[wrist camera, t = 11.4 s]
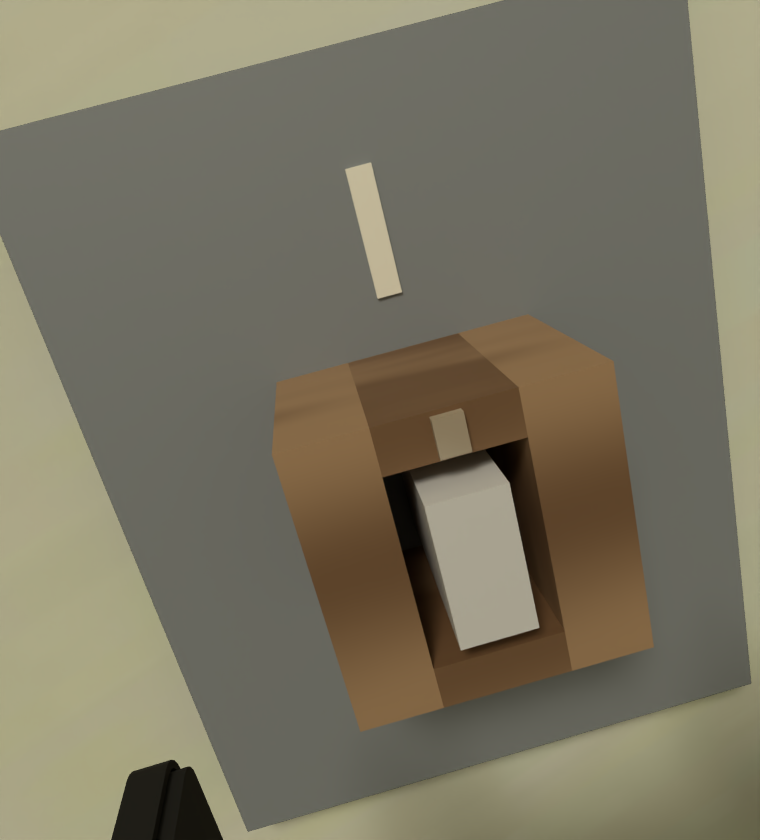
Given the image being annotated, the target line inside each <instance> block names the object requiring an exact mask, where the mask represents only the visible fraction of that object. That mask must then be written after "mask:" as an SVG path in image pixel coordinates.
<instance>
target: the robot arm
mask: <svg viewBox="0 0 760 840" xmlns="http://www.w3.org/2000/svg"><path fill="white" fill-rule="evenodd" d="M111 840H223V838H222V836H221V833H220V831H219V829H218V826H217V824H216V822H215V819H214V817H213V814H212V812H211V810H210V807H209V805H208V803H207V800H206V798H205V795H204V793H203V791H202V788H201V786H200V784H199V781H198V779H197V776H196V774H195V772H194V770H193V769H192V768H191V767H185V768H182V769H180V767H179V765H178V763H177V762H176V761H175V760H169V761H166V762H163V763H159V764H156V765H153V766H149V767H146V768H143V769H140V770H136V771H133V772H132V773H131V774H130V775H129V777H128V779H127V782H126V786H125V790H124V794H123V798H122V801H121V805H120V809H119V813H118V816H117V820H116V824H115V828H114V831H113V835H112V839H111Z"/></svg>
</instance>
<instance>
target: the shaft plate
mask: <svg viewBox="0 0 760 840" xmlns="http://www.w3.org/2000/svg"><path fill="white" fill-rule="evenodd" d="M0 235H1V237H2V240H3V242H4V245H5V247H6V250H7V252H8V254H9V257H10V259H11V262H12V264H13V266H14V269H15V271H16V274H17V276H18V278H19V281H20V283H21V286H22V288H23V291H24V293H25V295H26V298H27V300H28V303H29V305H30V307H31V310H32V312H33V315H34V317H35V319H36V322H37V324H38V327H39V329H40V332H41V334H42V336H43V339H44V341H45V344H46V346H47V348H48V351H49V353H50V356H51V358H52V360H53V363H54V365H55V368H56V370H57V373H58V375H59V377H60V380H61V382H62V385H63V387H64V389H65V392H66V394H67V397H68V399H69V402H70V404H71V406H72V409H73V411H74V414H75V416H76V418H77V421H78V423H79V426H80V428H81V430H82V433H83V435H84V438H85V440H86V443H87V445H88V447H89V450H90V452H91V455H92V457H93V459H94V462H95V464H96V467H97V469H98V471H99V474H100V476H101V479H102V481H103V484H104V486H105V488H106V491H107V493H108V496H109V498H110V500H111V503H112V505H113V508H114V510H115V513H116V515H117V517H118V520H119V522H120V525H121V527H122V529H123V532H124V534H125V537H126V539H127V541H128V544H129V546H130V549H131V551H132V554H133V556H134V558H135V561H136V563H137V566H138V568H139V570H140V573H141V575H142V578H143V580H144V582H145V585H146V587H147V590H148V592H149V595H150V597H151V599H152V602H153V604H154V607H155V609H156V611H157V614H158V616H159V619H160V621H161V624H162V626H163V628H164V631H165V633H166V636H167V638H168V640H169V643H170V645H171V648H172V650H173V652H174V655H175V657H176V660H177V662H178V665H179V667H180V669H181V672H182V674H183V677H184V679H185V681H186V684H187V686H188V689H189V691H190V693H191V696H192V698H193V701H194V703H195V706H196V708H197V710H198V713H199V715H200V718H201V720H202V722H203V725H204V727H205V730H206V732H207V735H208V737H209V739H210V742H211V744H212V747H213V749H214V751H215V754H216V756H217V759H218V761H219V763H220V766H221V768H222V771H223V773H224V776H225V778H226V780H227V783H228V785H229V788H230V790H231V792H232V795H233V797H234V800H235V802H236V804H237V807H238V809H239V812H240V814H241V817H242V819H243V821H244V824H245V826H246V829H247V831H248V832H249V831H252V830H256V829H259V828H262V827H266V826H269V825H273V824H276V823H279V822H283V821H286V820H290V819H293V818H296V817H300V816H303V815H307V814H310V813H313V812H317V811H320V810H324V809H327V808H330V807H334V806H337V805H340V804H344V803H347V802H351V801H354V800H357V799H361V798H364V797H368V796H371V795H374V794H378V793H381V792H385V791H388V790H391V789H395V788H398V787H402V786H405V785H408V784H412V783H415V782H419V781H422V780H425V779H429V778H432V777H436V776H439V775H442V774H446V773H449V772H453V771H456V770H459V769H463V768H466V767H470V766H473V765H476V764H480V763H483V762H486V761H490V760H493V759H497V758H500V757H503V756H507V755H510V754H514V753H517V752H520V751H524V750H527V749H531V748H534V747H537V746H541V745H544V744H548V743H551V742H554V741H558V740H561V739H565V738H568V737H571V736H575V735H578V734H582V733H585V732H588V731H592V730H595V729H599V728H602V727H605V726H609V725H612V724H616V723H619V722H622V721H626V720H629V719H633V718H636V717H639V716H643V715H646V714H649V713H653V712H656V711H660V710H663V709H666V708H670V707H673V706H677V705H680V704H683V703H687V702H690V701H694V700H697V699H700V698H704V697H707V696H711V695H714V694H717V693H721V692H724V691H728V690H731V689H734V688H738V687H741V686H745V685H748V684H751V676H750V665H749V655H748V644H747V633H746V622H745V612H744V601H743V590H742V580H741V569H740V558H739V547H738V537H737V526H736V515H735V505H734V494H733V483H732V472H731V462H730V451H729V440H728V430H727V419H726V408H725V397H724V387H723V376H722V365H721V355H720V344H719V333H718V322H717V312H716V301H715V290H714V280H713V269H712V258H711V247H710V237H709V226H708V215H707V205H706V194H705V183H704V172H703V162H702V151H701V140H700V130H699V119H698V108H697V97H696V87H695V76H694V65H693V55H692V44H691V33H690V22H689V12H688V1H687V0H503V1H499V2H496V3H492V4H488V5H484V6H480V7H476V8H472V9H468V10H465V11H461V12H457V13H453V14H449V15H445V16H441V17H438V18H434V19H430V20H426V21H422V22H418V23H414V24H411V25H407V26H403V27H399V28H395V29H391V30H387V31H383V32H380V33H376V34H372V35H368V36H364V37H360V38H356V39H353V40H349V41H345V42H341V43H337V44H333V45H329V46H325V47H322V48H318V49H314V50H310V51H306V52H302V53H298V54H295V55H291V56H287V57H283V58H279V59H275V60H271V61H268V62H264V63H260V64H256V65H252V66H248V67H244V68H240V69H237V70H233V71H229V72H225V73H221V74H217V75H213V76H210V77H206V78H202V79H198V80H194V81H190V82H186V83H182V84H179V85H175V86H171V87H167V88H163V89H159V90H155V91H152V92H148V93H144V94H140V95H136V96H132V97H128V98H125V99H121V100H117V101H113V102H109V103H105V104H101V105H97V106H94V107H90V108H86V109H82V110H78V111H74V112H70V113H67V114H63V115H59V116H55V117H51V118H47V119H43V120H39V121H36V122H32V123H28V124H24V125H20V126H16V127H12V128H9V129H5V130H1V131H0ZM527 314H529V315H530V316H532V317H534V318H536V319H538V320H540V321H541V322H543V323H545V324H547V325H549V326H550V327H552V328H554V329H556V330H558V331H560V332H561V333H563V334H565V335H567V336H569V337H571V338H572V339H574V340H576V341H578V342H580V343H581V344H583V345H585V346H587V347H589V348H591V349H592V350H594V351H596V352H598V353H600V354H601V355H603V356H605V357H607V358H609V359H611V360H612V361H614V368H615V375H616V382H617V389H618V396H619V403H620V411H621V418H622V425H623V432H624V439H625V446H626V453H627V460H628V467H629V474H630V481H631V488H632V495H633V502H634V510H635V517H636V524H637V531H638V538H639V545H640V552H641V559H642V566H643V573H644V580H645V587H646V594H647V601H648V608H649V616H650V623H651V630H652V637H653V644H654V647H653V648H650V649H646V650H643V651H639V652H636V653H632V654H629V655H625V656H622V657H619V658H615V659H612V660H608V661H605V662H601V663H598V664H594V665H591V666H587V667H584V668H580V669H577V670H573V671H570V672H566V673H563V674H560V675H556V676H553V677H549V678H546V679H542V680H539V681H535V682H532V683H528V684H525V685H521V686H518V687H514V688H511V689H508V690H504V691H501V692H497V693H494V694H490V695H487V696H483V697H480V698H476V699H473V700H469V701H466V702H462V703H459V704H456V705H452V706H449V707H445V708H442V709H438V710H435V711H431V712H428V713H424V714H421V715H417V716H414V717H410V718H407V719H404V720H400V721H397V722H393V723H390V724H386V725H383V726H379V727H376V728H372V729H369V730H365V731H362V732H360V729H359V726H358V723H357V719H356V716H355V713H354V710H353V707H352V704H351V701H350V698H349V694H348V691H347V688H346V685H345V682H344V679H343V676H342V673H341V669H340V666H339V663H338V660H337V657H336V654H335V651H334V648H333V644H332V641H331V638H330V635H329V632H328V629H327V626H326V623H325V619H324V616H323V613H322V610H321V607H320V604H319V601H318V598H317V594H316V591H315V588H314V585H313V582H312V579H311V576H310V572H309V569H308V566H307V563H306V560H305V557H304V554H303V551H302V547H301V544H300V541H299V538H298V535H297V532H296V529H295V526H294V522H293V519H292V516H291V513H290V510H289V507H288V504H287V501H286V497H285V494H284V491H283V488H282V485H281V482H280V479H279V476H278V472H277V469H276V466H275V463H274V460H273V457H272V444H273V429H274V414H275V399H276V384H277V382H279V381H283V380H287V379H290V378H294V377H298V376H301V375H305V374H309V373H312V372H316V371H320V370H324V369H327V368H331V367H335V366H338V365H342V364H346V363H349V362H353V361H357V360H361V359H364V358H368V357H372V356H375V355H379V354H383V353H386V352H390V351H394V350H398V349H401V348H405V347H409V346H412V345H416V344H420V343H423V342H427V341H431V340H435V339H438V338H442V337H446V336H449V335H453V334H457V333H460V332H464V331H468V330H472V329H475V328H479V327H483V326H486V325H490V324H494V323H497V322H501V321H505V320H509V319H512V318H516V317H520V316H523V315H527ZM382 478H383V482H384V486H385V489H386V493H387V497H388V501H389V504H390V508H391V512H392V516H393V519H394V523H395V527H396V531H397V534H398V538H399V542H400V546H401V549H402V551H403V550H407V549H410V548H414V547H418V546H421V545H422V546H423V549H424V551H425V554H426V557H427V559H428V562H429V565H430V568H431V570H432V573H433V576H434V579H435V581H436V584H437V587H438V589H439V592H440V595H441V598H442V600H443V603H444V606H445V609H446V611H447V614H448V617H449V619H450V622H451V625H452V628H453V630H454V633H455V636H456V639H457V641H458V644H459V647H460V650H465V649H468V648H472V647H475V646H478V645H482V644H485V643H489V642H492V641H496V640H499V639H503V638H506V637H510V636H513V635H517V634H520V633H523V632H527V631H530V630H534V629H537V628H539V623H538V618H537V613H536V609H535V604H534V599H533V594H532V589H531V584H530V580H529V575H528V570H527V565H526V560H525V555H524V551H523V546H522V541H521V536H520V531H519V527H518V522H517V517H516V512H515V507H514V502H513V498H512V493H511V488H510V483H509V482H508V480H507V479H506V477H505V476H504V475H503V473H502V472H501V471H500V469H499V468H498V467H497V465H496V464H495V463H494V461H493V460H492V458H491V457H490V456H489V454H488V453H487V452H486V450H485V449H484V450H480V451H477V452H473V453H469V454H466V455H462V456H458V457H455V458H451V459H448V460H444V461H440V462H437V463H433V464H429V465H426V466H422V467H419V468H415V469H411V470H408V471H404V472H401V473H397V474H393V475H390V476H386V477H382Z"/></svg>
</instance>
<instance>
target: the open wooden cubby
mask: <svg viewBox="0 0 760 840" xmlns="http://www.w3.org/2000/svg"><path fill="white" fill-rule="evenodd" d="M484 449H485V450H486V452H487V453H488V454H489V456H490V457H491V458H492V460H493V461H494V463H495V464H496V465H497V467H498V468H499V469H500V471H501V472H502V473H503V475H504V476H505V477H506V479H507V480H508V482H509V483H510V488H511V493H512V498H513V502H514V507H515V512H516V517H517V522H518V527H519V531H520V536H521V541H522V546H523V551H524V555H525V560H526V565H527V570H528V575H529V580H530V584H531V589H532V594H533V599H534V604H535V609H536V613H537V618H538V623H539V628H537V629H534V630H530V631H527V632H523V633H520V634H517V635H513V636H510V637H506V638H503V639H499V640H496V641H492V642H489V643H485V644H482V645H478V646H475V647H472V648H468V649H465V650H460V647H459V644H458V641H457V639H456V636H455V633H454V630H453V628H452V625H451V622H450V619H449V617H448V614H447V611H446V609H445V606H444V603H443V600H442V598H441V595H440V592H439V589H438V587H437V584H436V581H435V579H434V576H433V573H432V570H431V568H430V565H429V562H428V559H427V557H426V554H425V551H424V549H423V546H422V545H421V546H418V547H414V548H410V549H407V550H403V551H402V549H401V546H400V542H399V538H398V534H397V531H396V527H395V523H394V519H393V516H392V512H391V508H390V504H389V501H388V497H387V493H386V489H385V486H384V482H383V478H382V477H386V476H390V475H393V474H397V473H401V472H404V471H408V470H411V469H415V468H419V467H422V466H426V465H429V464H433V463H437V462H440V461H444V460H448V459H451V458H455V457H458V456H462V455H466V454H469V453H473V452H477V451H480V450H484ZM272 457H273V460H274V463H275V466H276V469H277V472H278V476H279V479H280V482H281V485H282V488H283V491H284V494H285V497H286V501H287V504H288V507H289V510H290V513H291V516H292V519H293V522H294V526H295V529H296V532H297V535H298V538H299V541H300V544H301V547H302V551H303V554H304V557H305V560H306V563H307V566H308V569H309V572H310V576H311V579H312V582H313V585H314V588H315V591H316V594H317V598H318V601H319V604H320V607H321V610H322V613H323V616H324V619H325V623H326V626H327V629H328V632H329V635H330V638H331V641H332V644H333V648H334V651H335V654H336V657H337V660H338V663H339V666H340V669H341V673H342V676H343V679H344V682H345V685H346V688H347V691H348V694H349V698H350V701H351V704H352V707H353V710H354V713H355V716H356V719H357V723H358V726H359V729H360V732H362V731H365V730H369V729H372V728H376V727H379V726H383V725H386V724H390V723H393V722H397V721H400V720H404V719H407V718H410V717H414V716H417V715H421V714H424V713H428V712H431V711H435V710H438V709H442V708H445V707H449V706H452V705H456V704H459V703H462V702H466V701H469V700H473V699H476V698H480V697H483V696H487V695H490V694H494V693H497V692H501V691H504V690H508V689H511V688H514V687H518V686H521V685H525V684H528V683H532V682H535V681H539V680H542V679H546V678H549V677H553V676H556V675H560V674H563V673H566V672H570V671H573V670H577V669H580V668H584V667H587V666H591V665H594V664H598V663H601V662H605V661H608V660H612V659H615V658H619V657H622V656H625V655H629V654H632V653H636V652H639V651H643V650H646V649H650V648H653V647H654V644H653V637H652V630H651V623H650V616H649V608H648V601H647V594H646V587H645V580H644V573H643V566H642V559H641V552H640V545H639V538H638V531H637V524H636V517H635V510H634V502H633V495H632V488H631V481H630V474H629V467H628V460H627V453H626V446H625V439H624V432H623V425H622V418H621V411H620V403H619V396H618V389H617V382H616V375H615V368H614V361H612V360H611V359H609V358H607V357H605V356H603V355H601V354H600V353H598V352H596V351H594V350H592V349H591V348H589V347H587V346H585V345H583V344H581V343H580V342H578V341H576V340H574V339H572V338H571V337H569V336H567V335H565V334H563V333H561V332H560V331H558V330H556V329H554V328H552V327H550V326H549V325H547V324H545V323H543V322H541V321H540V320H538V319H536V318H534V317H532V316H530V315H529V314H527V315H523V316H520V317H516V318H512V319H509V320H505V321H501V322H497V323H494V324H490V325H486V326H483V327H479V328H475V329H472V330H468V331H464V332H460V333H457V334H453V335H449V336H446V337H442V338H438V339H435V340H431V341H427V342H423V343H420V344H416V345H412V346H409V347H405V348H401V349H398V350H394V351H390V352H386V353H383V354H379V355H375V356H372V357H368V358H364V359H361V360H357V361H353V362H349V363H346V364H342V365H338V366H335V367H331V368H327V369H324V370H320V371H316V372H312V373H309V374H305V375H301V376H298V377H294V378H290V379H287V380H283V381H279V382H277V384H276V399H275V414H274V429H273V444H272Z"/></svg>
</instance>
